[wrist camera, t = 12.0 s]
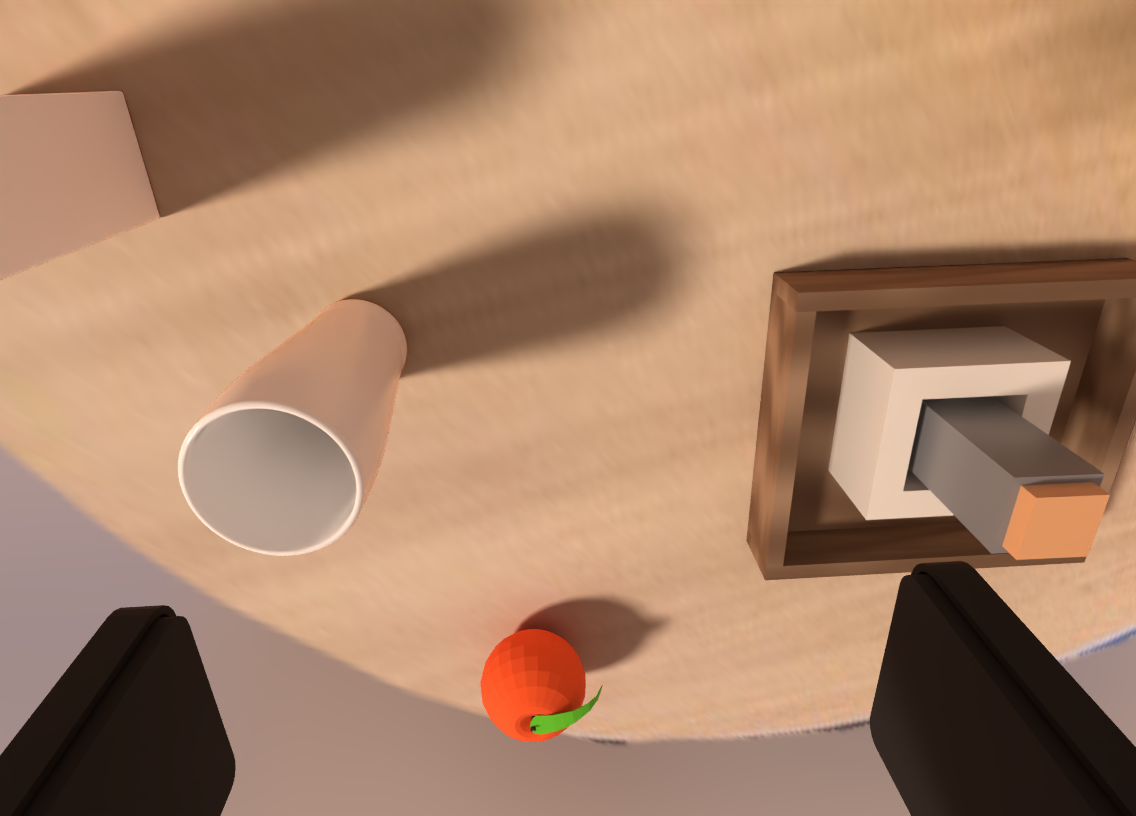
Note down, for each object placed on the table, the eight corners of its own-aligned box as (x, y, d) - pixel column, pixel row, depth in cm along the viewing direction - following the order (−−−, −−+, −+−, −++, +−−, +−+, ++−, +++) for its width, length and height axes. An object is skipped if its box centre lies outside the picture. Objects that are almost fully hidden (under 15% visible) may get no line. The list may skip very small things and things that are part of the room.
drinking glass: (439, 312, 38) (391, 441, 25) (398, 414, 41) (334, 581, 27) (318, 262, 37) (196, 370, 23) (283, 370, 39) (155, 525, 26)
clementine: (589, 597, 48) (598, 678, 41) (603, 670, 51) (614, 757, 44) (474, 615, 48) (465, 699, 41) (494, 688, 51) (489, 776, 44)
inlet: (849, 332, 40) (894, 369, 35) (1004, 326, 40) (1070, 361, 35) (828, 470, 43) (866, 520, 39) (970, 463, 44) (1025, 511, 39)
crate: (773, 272, 38) (799, 293, 35) (1126, 258, 39) (1187, 276, 35) (746, 540, 46) (765, 580, 43) (1041, 524, 47) (1084, 562, 43)
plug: (901, 384, 39) (1029, 490, 29) (971, 381, 39) (1122, 486, 29) (888, 447, 41) (1004, 567, 31) (955, 444, 41) (1093, 563, 31)
